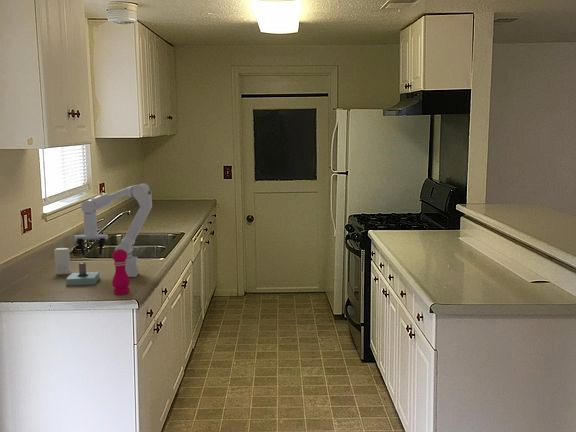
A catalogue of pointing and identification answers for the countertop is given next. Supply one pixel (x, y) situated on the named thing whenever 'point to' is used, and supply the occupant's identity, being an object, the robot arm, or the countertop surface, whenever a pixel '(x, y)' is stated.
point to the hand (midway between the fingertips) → (92, 254)
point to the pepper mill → (120, 272)
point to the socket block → (82, 279)
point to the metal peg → (82, 269)
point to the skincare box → (62, 261)
